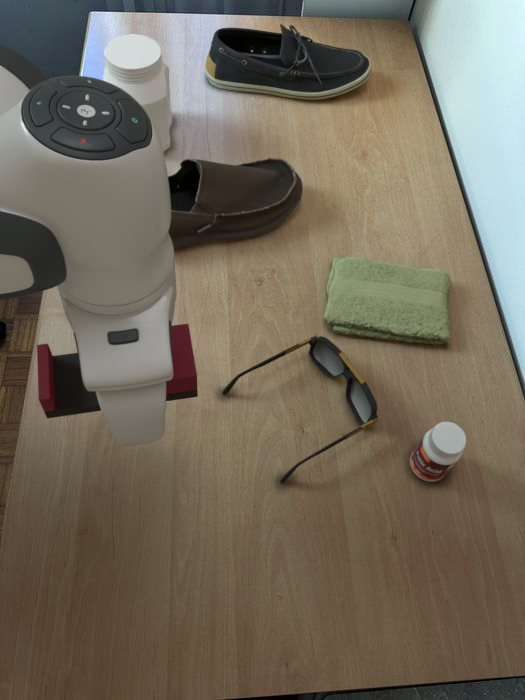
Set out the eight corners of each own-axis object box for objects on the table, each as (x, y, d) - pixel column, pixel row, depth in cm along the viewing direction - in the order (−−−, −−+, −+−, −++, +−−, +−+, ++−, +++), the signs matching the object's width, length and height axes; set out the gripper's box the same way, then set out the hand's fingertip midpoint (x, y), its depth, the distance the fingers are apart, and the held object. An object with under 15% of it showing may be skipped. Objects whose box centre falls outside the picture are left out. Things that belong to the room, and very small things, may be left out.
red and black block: (47, 418, 61) (37, 399, 58) (44, 363, 64) (35, 341, 61) (197, 397, 63) (197, 377, 60) (189, 344, 66) (188, 322, 63)
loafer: (314, 219, 102) (324, 167, 93) (130, 280, 94) (121, 230, 85) (282, 172, 107) (288, 118, 98) (104, 226, 99) (93, 173, 90)
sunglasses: (221, 395, 85) (222, 376, 81) (318, 345, 90) (323, 325, 86) (280, 484, 80) (284, 469, 75) (380, 426, 85) (389, 408, 80)
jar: (115, 108, 112) (103, 25, 99) (172, 110, 113) (168, 28, 100) (109, 156, 106) (95, 74, 93) (169, 158, 107) (163, 78, 94)
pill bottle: (402, 466, 82) (420, 438, 75) (422, 439, 84) (442, 410, 77) (434, 490, 81) (456, 465, 74) (454, 462, 83) (477, 435, 76)
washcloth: (329, 260, 98) (332, 246, 96) (447, 279, 98) (454, 266, 95) (320, 333, 91) (323, 320, 89) (447, 354, 91) (454, 342, 88)
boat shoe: (369, 107, 117) (381, 61, 109) (203, 96, 115) (203, 48, 107) (365, 68, 123) (376, 21, 115) (206, 57, 121) (206, 9, 113)
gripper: (68, 186, 55) (93, 285, 67) (83, 403, 45) (109, 475, 57) (145, 179, 56) (155, 278, 68) (176, 390, 46) (182, 463, 58)
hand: (134, 369), depth 63 cm, fingers closed on red and black block, 6 cm apart
